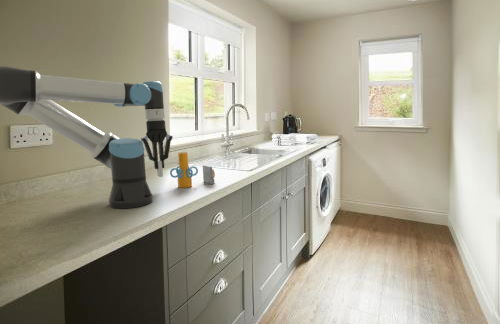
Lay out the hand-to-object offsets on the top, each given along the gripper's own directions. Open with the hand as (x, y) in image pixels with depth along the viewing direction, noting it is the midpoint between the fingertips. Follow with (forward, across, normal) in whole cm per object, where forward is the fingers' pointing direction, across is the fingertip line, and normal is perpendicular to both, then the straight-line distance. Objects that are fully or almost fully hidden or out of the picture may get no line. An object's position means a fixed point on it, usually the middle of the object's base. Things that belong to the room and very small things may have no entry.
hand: (160, 176), depth 148 cm
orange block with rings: (+6, +11, 0) cm, 12 cm away
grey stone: (+6, +22, 0) cm, 22 cm away
